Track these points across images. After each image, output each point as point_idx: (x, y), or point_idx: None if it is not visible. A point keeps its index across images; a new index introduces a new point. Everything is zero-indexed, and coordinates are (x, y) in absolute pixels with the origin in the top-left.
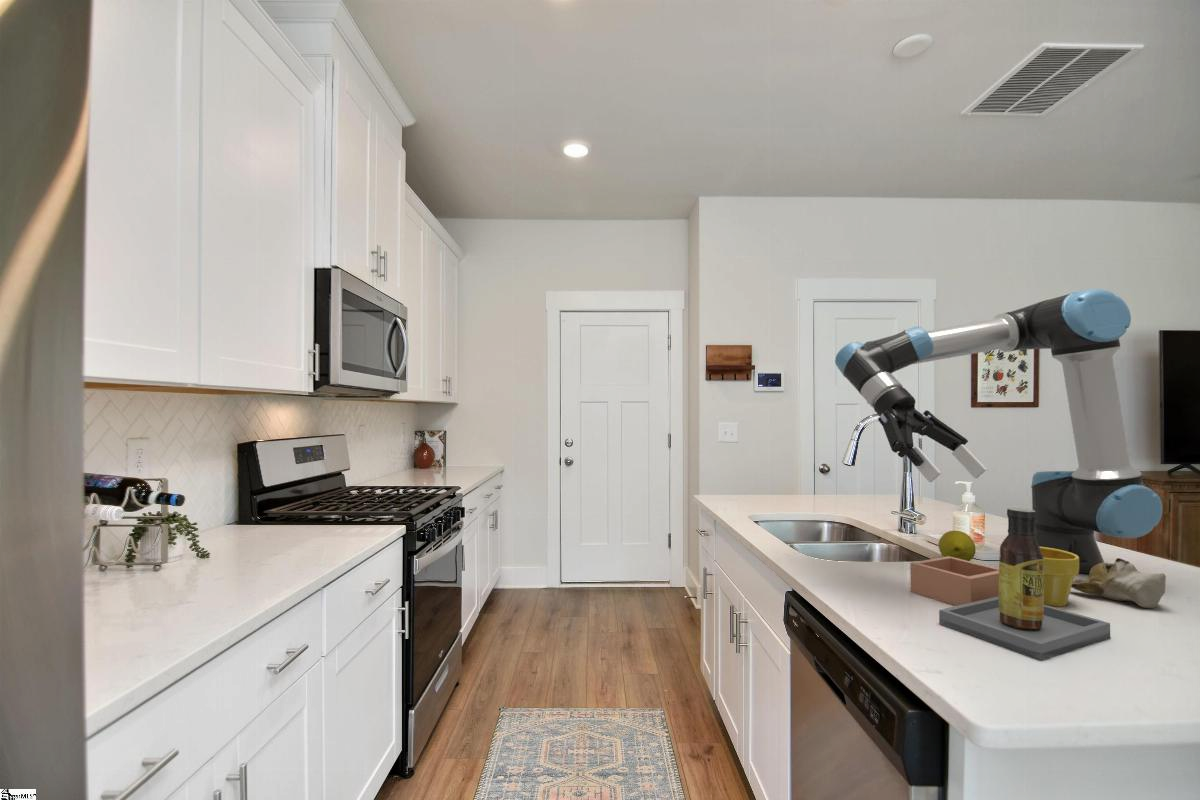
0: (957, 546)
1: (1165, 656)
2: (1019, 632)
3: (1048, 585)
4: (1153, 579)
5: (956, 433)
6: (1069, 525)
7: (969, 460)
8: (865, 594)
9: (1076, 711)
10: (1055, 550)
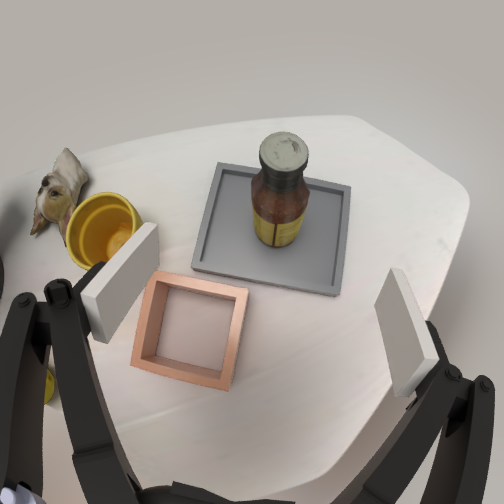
0: (47, 377)
1: (233, 134)
2: (304, 221)
3: None
4: (73, 156)
5: (11, 336)
6: None
7: (134, 270)
8: (301, 411)
9: (411, 159)
10: (70, 228)
